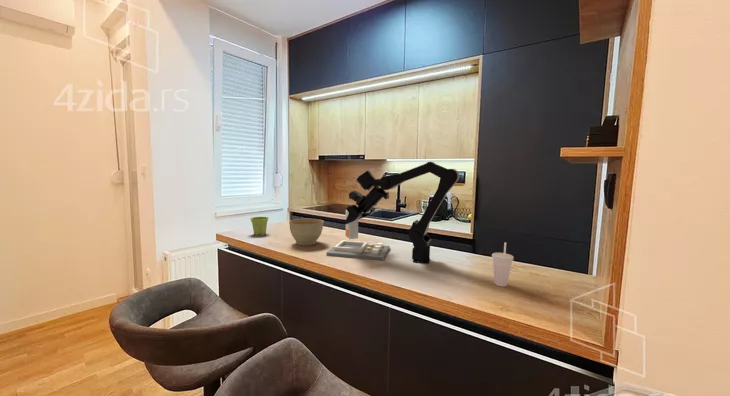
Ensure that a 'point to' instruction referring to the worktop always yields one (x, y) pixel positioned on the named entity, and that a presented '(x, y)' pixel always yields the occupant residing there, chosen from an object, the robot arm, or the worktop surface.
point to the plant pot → (259, 225)
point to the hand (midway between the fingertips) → (349, 222)
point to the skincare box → (352, 229)
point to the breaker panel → (359, 250)
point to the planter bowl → (306, 230)
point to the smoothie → (502, 267)
